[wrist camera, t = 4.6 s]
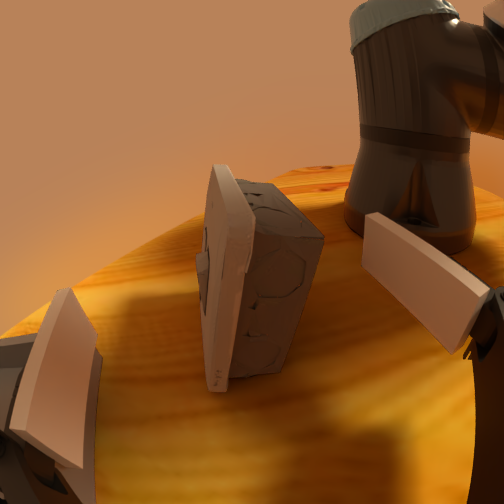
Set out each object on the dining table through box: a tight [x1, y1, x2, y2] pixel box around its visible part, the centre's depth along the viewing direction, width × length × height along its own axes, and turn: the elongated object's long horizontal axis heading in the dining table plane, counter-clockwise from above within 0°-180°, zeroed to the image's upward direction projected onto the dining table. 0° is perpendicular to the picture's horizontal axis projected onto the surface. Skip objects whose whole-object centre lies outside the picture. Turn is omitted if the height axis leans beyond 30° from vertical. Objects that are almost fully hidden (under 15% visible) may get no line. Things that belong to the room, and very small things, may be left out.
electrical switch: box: [196, 165, 325, 392], centre depth 14 cm, size 9×5×9 cm, turn 11°
